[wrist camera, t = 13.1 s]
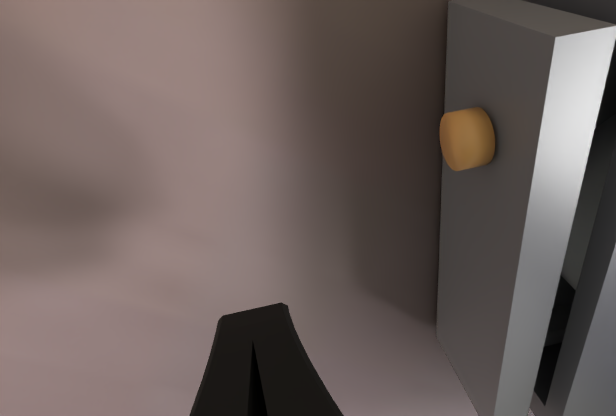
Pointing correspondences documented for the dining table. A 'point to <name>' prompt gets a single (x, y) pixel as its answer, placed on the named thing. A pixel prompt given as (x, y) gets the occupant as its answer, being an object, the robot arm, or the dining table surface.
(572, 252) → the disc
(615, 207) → the block
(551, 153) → the tray
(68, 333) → the dining table surface
